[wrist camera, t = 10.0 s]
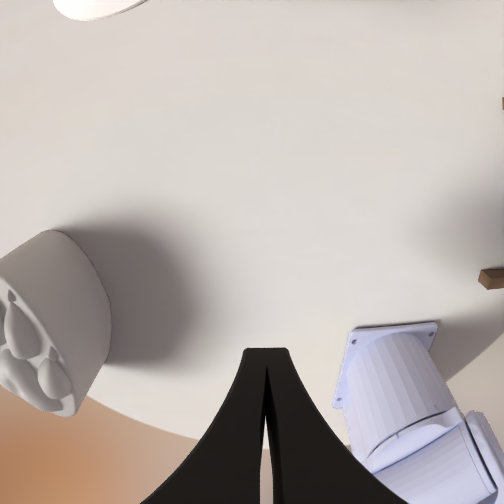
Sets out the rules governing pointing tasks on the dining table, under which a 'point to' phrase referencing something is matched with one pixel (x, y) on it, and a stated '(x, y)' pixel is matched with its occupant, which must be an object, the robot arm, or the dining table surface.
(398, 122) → the dining table surface
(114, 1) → the panda figurine
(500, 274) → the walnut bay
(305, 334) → the dining table surface
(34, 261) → the lumpy-topped squat cylinder
